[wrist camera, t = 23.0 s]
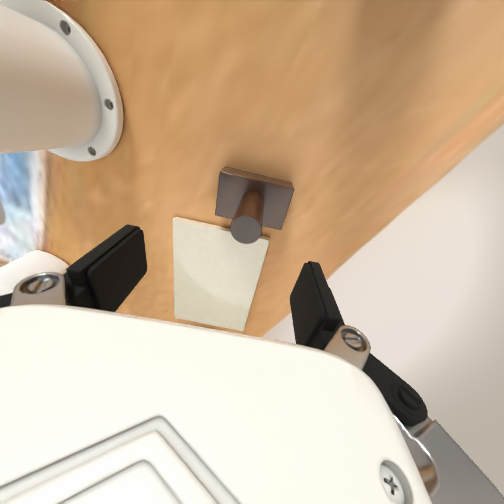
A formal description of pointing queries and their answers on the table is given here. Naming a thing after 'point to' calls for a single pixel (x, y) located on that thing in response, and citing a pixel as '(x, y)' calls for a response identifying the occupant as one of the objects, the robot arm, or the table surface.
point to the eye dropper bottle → (29, 268)
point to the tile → (214, 273)
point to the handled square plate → (252, 203)
